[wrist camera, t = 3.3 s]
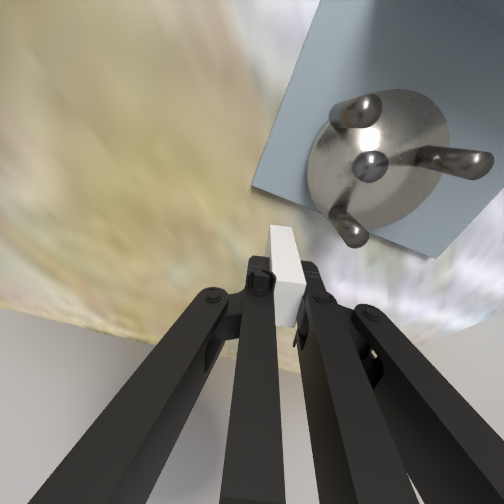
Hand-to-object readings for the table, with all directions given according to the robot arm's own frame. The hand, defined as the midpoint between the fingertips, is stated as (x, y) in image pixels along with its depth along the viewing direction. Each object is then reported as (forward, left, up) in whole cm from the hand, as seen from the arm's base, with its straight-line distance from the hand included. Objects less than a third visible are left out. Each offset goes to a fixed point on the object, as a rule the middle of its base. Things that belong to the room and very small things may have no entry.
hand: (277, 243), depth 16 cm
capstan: (+7, +7, -10) cm, 14 cm away
